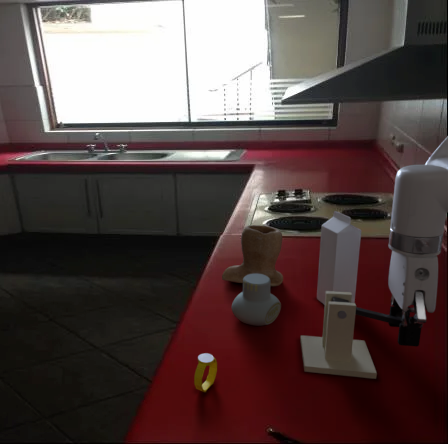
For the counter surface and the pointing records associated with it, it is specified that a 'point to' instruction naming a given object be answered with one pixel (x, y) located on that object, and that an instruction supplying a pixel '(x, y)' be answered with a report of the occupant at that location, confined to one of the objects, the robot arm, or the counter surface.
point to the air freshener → (256, 301)
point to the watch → (203, 361)
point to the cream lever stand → (337, 343)
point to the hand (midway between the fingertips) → (402, 334)
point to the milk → (338, 256)
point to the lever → (374, 313)
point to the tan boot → (257, 255)
